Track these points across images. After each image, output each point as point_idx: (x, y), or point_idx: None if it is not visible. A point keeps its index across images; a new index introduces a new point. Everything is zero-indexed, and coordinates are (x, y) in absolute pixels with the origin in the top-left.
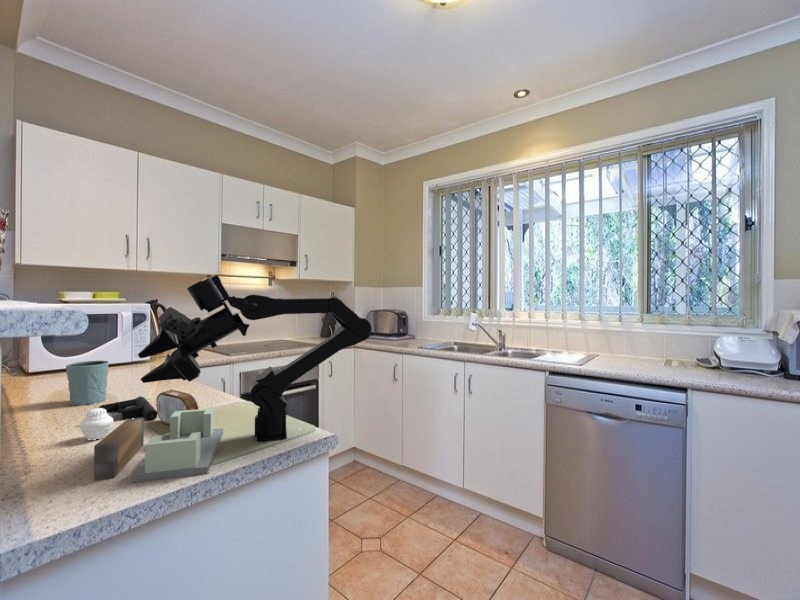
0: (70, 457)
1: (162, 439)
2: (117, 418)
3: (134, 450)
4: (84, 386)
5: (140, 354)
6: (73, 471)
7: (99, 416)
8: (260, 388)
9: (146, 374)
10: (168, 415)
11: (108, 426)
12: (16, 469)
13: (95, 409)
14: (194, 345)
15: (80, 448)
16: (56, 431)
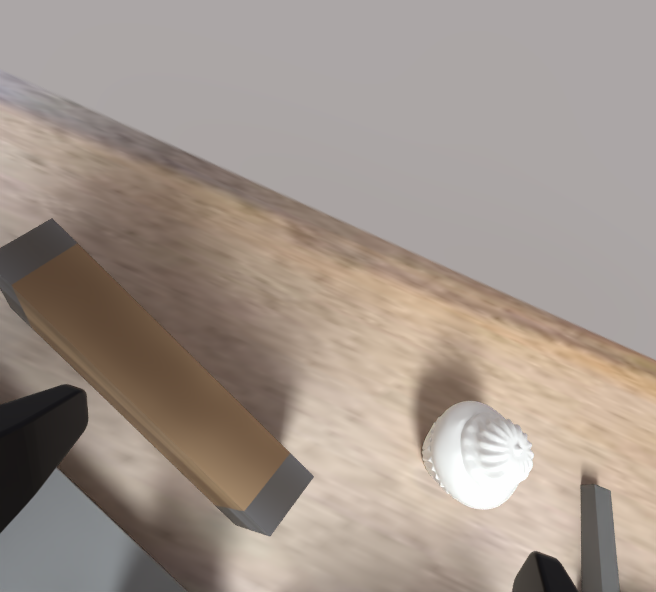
0: (327, 335)
1: (166, 586)
2: (588, 590)
3: (159, 448)
4: None
5: (532, 577)
6: (202, 284)
7: (473, 447)
8: None
9: (20, 417)
10: None
11: (438, 477)
12: (347, 239)
13: (514, 444)
14: None
15: (383, 384)
16: (575, 416)
